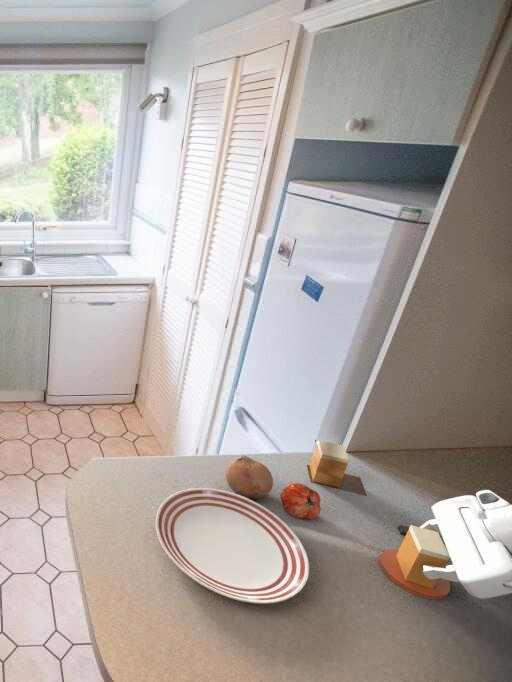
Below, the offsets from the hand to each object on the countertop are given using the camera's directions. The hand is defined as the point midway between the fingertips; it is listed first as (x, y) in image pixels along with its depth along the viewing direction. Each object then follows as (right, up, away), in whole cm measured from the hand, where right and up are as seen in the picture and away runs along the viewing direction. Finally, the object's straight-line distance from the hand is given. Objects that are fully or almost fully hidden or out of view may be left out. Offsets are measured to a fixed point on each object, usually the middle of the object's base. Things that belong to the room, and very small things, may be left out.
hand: (418, 553), depth 83 cm
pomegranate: (-12, +1, +16) cm, 20 cm away
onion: (-20, +4, +22) cm, 30 cm away
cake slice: (0, -4, +1) cm, 4 cm away
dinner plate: (-32, -3, +8) cm, 33 cm away
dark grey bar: (+3, 0, +12) cm, 12 cm away
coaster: (+1, -5, +2) cm, 5 cm away
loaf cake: (+3, +5, +25) cm, 26 cm away
